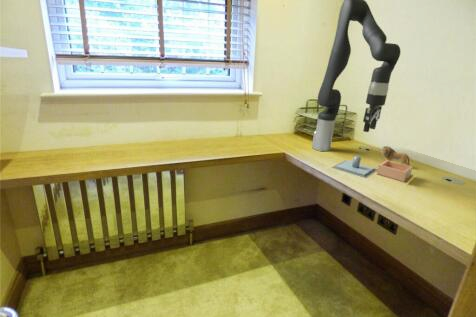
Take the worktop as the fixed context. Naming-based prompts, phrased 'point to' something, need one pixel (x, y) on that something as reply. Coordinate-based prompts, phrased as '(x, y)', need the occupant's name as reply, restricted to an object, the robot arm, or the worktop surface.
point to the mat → (354, 173)
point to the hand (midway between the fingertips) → (369, 130)
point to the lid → (355, 166)
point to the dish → (394, 170)
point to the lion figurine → (394, 155)
